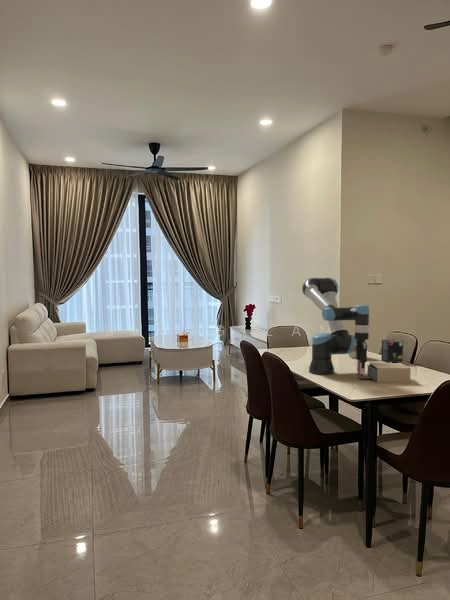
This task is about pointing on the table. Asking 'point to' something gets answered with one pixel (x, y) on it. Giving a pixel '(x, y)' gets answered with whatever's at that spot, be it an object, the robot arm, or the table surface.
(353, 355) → the reusable coffee cup
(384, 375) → the sleeve
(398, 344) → the tampon box
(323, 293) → the robot arm
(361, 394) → the table surface
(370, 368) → the tray
